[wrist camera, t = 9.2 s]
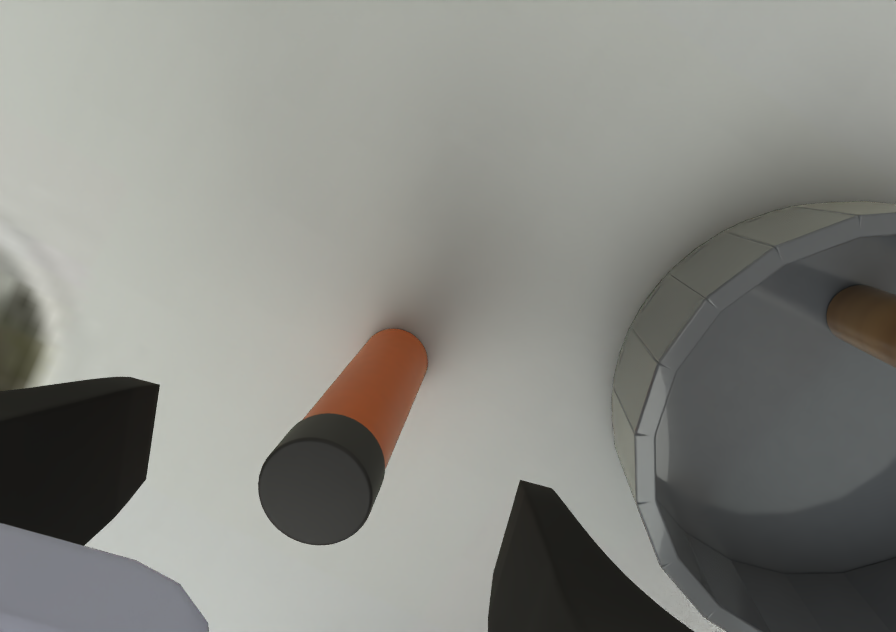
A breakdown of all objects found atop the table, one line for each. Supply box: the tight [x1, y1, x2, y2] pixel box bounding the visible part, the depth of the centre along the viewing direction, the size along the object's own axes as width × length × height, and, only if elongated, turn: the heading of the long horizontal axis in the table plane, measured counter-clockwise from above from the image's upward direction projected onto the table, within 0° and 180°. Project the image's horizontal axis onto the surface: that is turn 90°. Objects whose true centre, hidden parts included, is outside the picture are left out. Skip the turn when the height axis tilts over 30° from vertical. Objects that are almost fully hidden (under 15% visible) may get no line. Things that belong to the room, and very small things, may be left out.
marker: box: [258, 329, 428, 545], centre depth 16 cm, size 2×2×8 cm
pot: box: [611, 201, 896, 632], centre depth 17 cm, size 11×11×4 cm
